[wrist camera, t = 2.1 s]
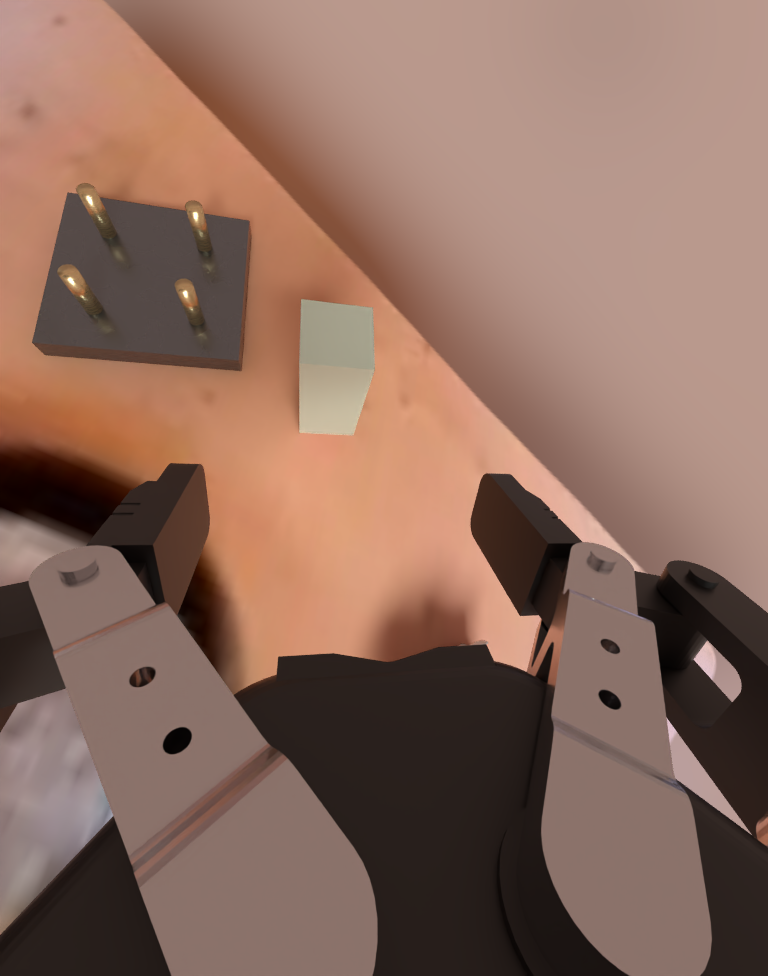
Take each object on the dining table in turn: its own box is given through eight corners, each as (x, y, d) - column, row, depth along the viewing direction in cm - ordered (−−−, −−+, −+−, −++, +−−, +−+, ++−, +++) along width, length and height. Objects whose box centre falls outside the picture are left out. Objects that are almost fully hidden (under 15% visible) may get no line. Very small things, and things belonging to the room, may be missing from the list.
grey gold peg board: (45, 354, 29) (-4, 308, 25) (77, 209, 33) (40, 145, 28) (241, 370, 32) (231, 331, 28) (251, 235, 36) (243, 181, 31)
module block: (299, 432, 32) (299, 363, 22) (300, 384, 33) (301, 299, 24) (353, 435, 33) (374, 369, 23) (352, 388, 34) (372, 307, 24)
